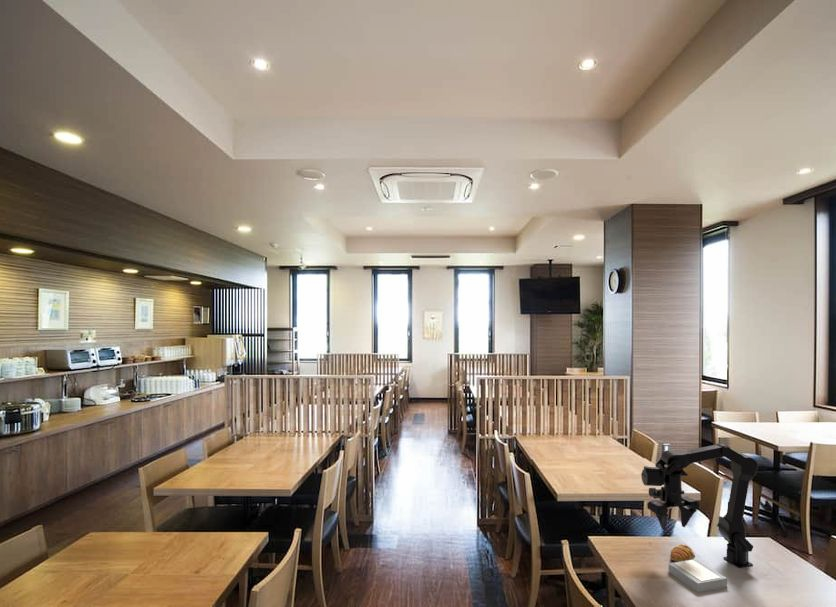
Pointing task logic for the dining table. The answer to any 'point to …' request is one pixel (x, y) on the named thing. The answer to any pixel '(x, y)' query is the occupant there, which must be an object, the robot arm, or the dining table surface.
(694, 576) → the plinth
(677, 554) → the pastry
